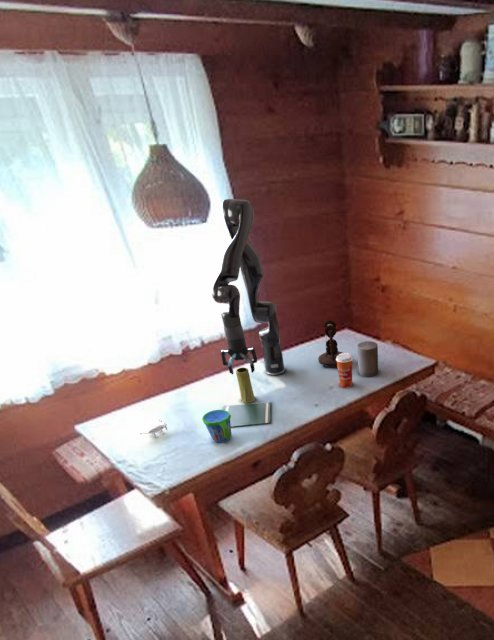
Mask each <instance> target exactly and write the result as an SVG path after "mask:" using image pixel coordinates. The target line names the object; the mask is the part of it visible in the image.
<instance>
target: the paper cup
mask: <svg viewBox="0 0 494 640" xmlns="http://www.w3.org/2000/svg"><path fill="white" fill-rule="evenodd" d="M353 360H354V358H353V356H352V354H350V353H349V352H343V353H341V354H339V355H338V356H337V357H336V361H337V366H336V367H337V373H338V380H339V385H340V387H341V388H344V389H345V388H347V389H348V388H351V387H352V386H353Z"/></svg>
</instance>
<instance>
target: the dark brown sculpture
mask: <svg viewBox="0 0 494 640" xmlns="http://www.w3.org/2000/svg"><path fill="white" fill-rule="evenodd" d="M323 326H324V334H325V338H324V339H325V340H324V341H325V352H323V353H321V354H320V355H318V357H317V359H318V363H319V364H321V365H322V367H323V368H325V367H326V366H327V367H337V361H336V357H337V356H338V355H339V354H341V353H344V352H343V351H339V348H338V342H337V340H336V339H334V337H335V336H336V334H337V325H336V322H335V321H334V320H332V319H329V320H325V322H324V325H323ZM327 338H328V339H327Z"/></svg>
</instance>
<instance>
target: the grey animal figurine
mask: <svg viewBox="0 0 494 640" xmlns="http://www.w3.org/2000/svg"><path fill="white" fill-rule="evenodd" d="M167 426H168V424H167V423H166V422H163V421H162V420H160V419H158V424H157V425H154V426H152V427H150V428H149V429H148V430H147V432H144V433H141V432H140V433H139V435H147V434H148V435H152V436H153V437H154V438H157V436H156V435H157V434H156V433H158V432H159V433H161V434H162V435H164V431H163V430H164V429H165V430H166V431H169V430H168V427H167Z"/></svg>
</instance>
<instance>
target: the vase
mask: <svg viewBox="0 0 494 640" xmlns="http://www.w3.org/2000/svg"><path fill="white" fill-rule="evenodd" d="M235 373H236V379H237V383H238V388H239V394H240V398H241V399H240V400H241V402H242V403H246V404H251V403H253V402H254V401H255V400H256V397H255V394H254V389H253V386H252V382H251V377H250V373H249V369H248V368H247V367H244V366H243V367H238V368H236V370H235Z"/></svg>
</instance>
